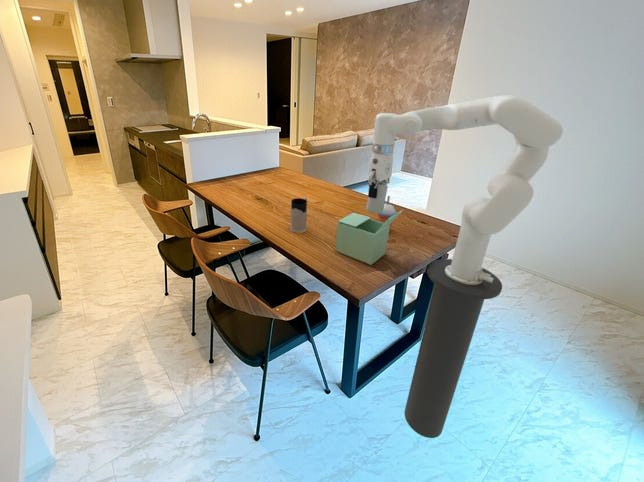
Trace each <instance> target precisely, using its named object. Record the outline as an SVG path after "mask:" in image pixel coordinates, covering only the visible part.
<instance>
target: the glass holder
mask: <svg viewBox="0 0 644 482" xmlns="http://www.w3.org/2000/svg"><path fill="white" fill-rule="evenodd" d="M290 201H291V203H290V227H289V231H291V232H292V233H297V234H302V233H305V232H307V231H308V227H307V219H308V209H307V208H308V198H307V197H304V198H301V197H300V198H299V197H298V198H297V197H296V198H293V199H291V200H290Z"/></svg>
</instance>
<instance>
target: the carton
mask: <svg viewBox="0 0 644 482" xmlns="http://www.w3.org/2000/svg"><path fill="white" fill-rule="evenodd" d="M383 224H384V223H382V222H379V221H377V220H375V219H373V218H372V217H371V216H367V215H364V214H360V213H358V212H357V213H356V212H352V213H350V214H348V215H346V216H345V217H343V218H341V219H338V220H337V226H336V239H335V252H338V253H340V254H343V255H345V256H348V257H349V258H353V259H355V260H357V261H360V262H362V263H365V264H367V265H370V266H372V265H373V264H374V263H376V262H377V261H378V260H379V259H381V258H382V257H383V256H385V254H387V253H386V252H387V248H388V247H387V246H388V241H389V234H390V231H389V229H390V230H391V228H390V225H388V226H387V227H385V228H384V229H382V230H381V231H379V232H378V233H376V232H377V230H378V229H379V228H380V227H381V226H382V225H383Z"/></svg>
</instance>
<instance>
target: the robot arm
mask: <svg viewBox="0 0 644 482" xmlns="http://www.w3.org/2000/svg"><path fill="white" fill-rule="evenodd" d="M494 125H497V126H500V127H501V128H503V129H504V130H506V131H507V132H508V133H510V134H512V136H513V138H514V140H515V149H514V151H513V153H512V155H511V156H510V158H508V160H507V161H506V162H505V163H504V164H503V166H502V167H501V168H500V169H499V170H498V171H497V172H496V173H495V175H494V176H493V177H492V178H491V179H490V180H489V181H488V183H487V185H486V188H487V189H486V190H487V192H488V193H489V195H490V198H488V197H484V196H475V197H472V198H471V199H469V200H467V202H466V203H465V204H464V206H463V209H462V214H461V221H460V227H459V232H458V236H457V239H456V242H455V247H454V251H453V254H452V258H451V259H452V263H451V265H449V266H447V267H446V268H445V273H446V275H447V276H448V277H449V278H451V279H452V280H454V281H457V282H459V283H462V284H467V285H478V284H480V283H482V281H483V280H485V281H487V282H490V283H492V282H493V279H494V278H492V277H490V276H491V275H490V274H487V273H484V272H483V271H482V269H483V268H484V267H483V263H484V260H485V256H486V253H487V249H488V246H489V245H490V240H491V236H492V235H496V234H498V233H500V232H502V231H503V230H504V229H505V228H507V227H508V226H509V224H511V223H512V222H513V221H514V220H515V219H516V218H517V217H518V216H519V215H520V214H521V213H522V212H523V211H524V210H525V209H526V208H527V207H528V205H529V204H530V203H531V201H532V199H533V197H534V188H533V185H531V183H530V181H531V179H533V177H534V176H535V175H536V174H537V173H538V172H539V170H540V169H541V168H542V167H543V166H544V164H545V163H546V161H547V159H548V155H549V151H550V147H552V146H553V145H555V144H556V143H558V142H559V140H560V139H561V138H562V136H563V132H564V130H563V129H564V128H563V125H562V124H561V123H560V121H559V120H557V119H556V118H555V117H554V116H551V115H550V114H549V113H546V112H545V111H544V110H542V109H540V108H539V107H538V106H536V105H534V104H532V103H531V102H529V101H528V100H526V99H525V98H523V97H521V96H518V95H513V94H512V95H509V94H505V95H503V94H502V95H495V96H491V97H485V98H478V99H474V100H473V99H472V100H467V101H461V102H456V103H449V104H445V105H442V106H436V107H429V108H424V109H417V110H412V111H406V112H405V113H403V114H397V113H394V112H380V113H378V114H376V116H375V120H374V128H373V130H374V131H373V136H372V145H371V153H372V154H371V158H370V163H369V169H368V178H367V184H368V192H367V198H368V197H371V198H377V190H378V188H377V185H378V182H379V181H380V182H381V181H384V182H386V183H387V184H388V179H390V178H391V177H392V173H393V164H394V163H393V162H394V151H395V144H396V143H395V142H396V137H397V136H401V137H414V136H415V135H417V134H419V133H420V132H422V131H423V132H424V131H431V130H446V131H460V130H466V129H467V130H468V129H473V128H479V127H480V128H481V127H487V126H494ZM373 181H375V182H376V183H374V182H373Z"/></svg>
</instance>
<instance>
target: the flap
mask: <svg viewBox="0 0 644 482" xmlns="http://www.w3.org/2000/svg"><path fill="white" fill-rule="evenodd" d="M402 212H404V209H401V210H399V211H398V212H396V214H395V215H393V216H392V217H390V218H388V220H387V221H386V222H385V223H384V224H383V225H382V226H381V227H380V228H379V229H378V230H377V232H376V233H378V232H379V231H381V230H382V229H384V228H385V227H387V226H388V225H390V224H391V223H392V222H394V221H395V220H396V219H397V218H398V217H399V216H400V214H401V213H402ZM392 224H393V223H392Z"/></svg>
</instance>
